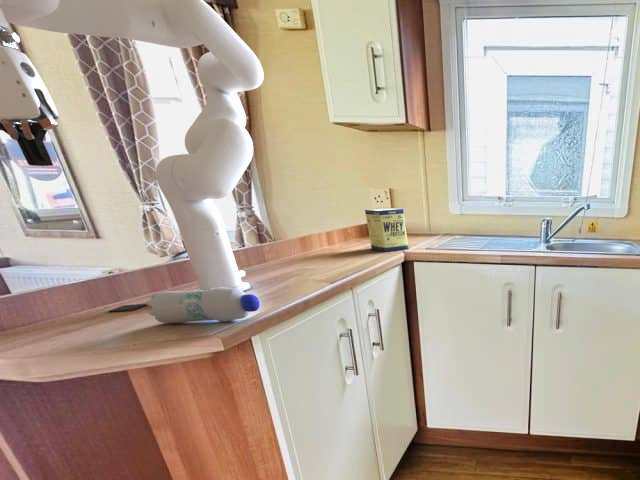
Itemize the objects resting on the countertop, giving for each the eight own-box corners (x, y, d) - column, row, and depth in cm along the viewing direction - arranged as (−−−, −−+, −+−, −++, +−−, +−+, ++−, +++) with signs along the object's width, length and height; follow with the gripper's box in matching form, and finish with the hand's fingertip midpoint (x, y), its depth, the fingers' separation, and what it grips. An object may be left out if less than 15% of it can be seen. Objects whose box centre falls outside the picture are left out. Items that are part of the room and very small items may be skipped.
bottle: (173, 299, 87) (268, 294, 87) (169, 329, 86) (265, 324, 86) (145, 284, 81) (247, 278, 80) (139, 317, 79) (244, 311, 79)
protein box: (385, 251, 170) (379, 210, 164) (370, 248, 181) (364, 209, 175) (409, 248, 176) (403, 208, 169) (393, 245, 187) (387, 208, 180)
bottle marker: (125, 306, 99) (124, 305, 99) (147, 305, 100) (147, 303, 100) (108, 312, 95) (108, 310, 95) (132, 310, 95) (131, 309, 95)
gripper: (52, 47, 74) (100, 165, 82) (-40, 49, 73) (17, 168, 81) (10, 33, 67) (67, 163, 75) (-92, 35, 66) (-24, 166, 74)
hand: (41, 165), depth 78 cm, fingers closed
